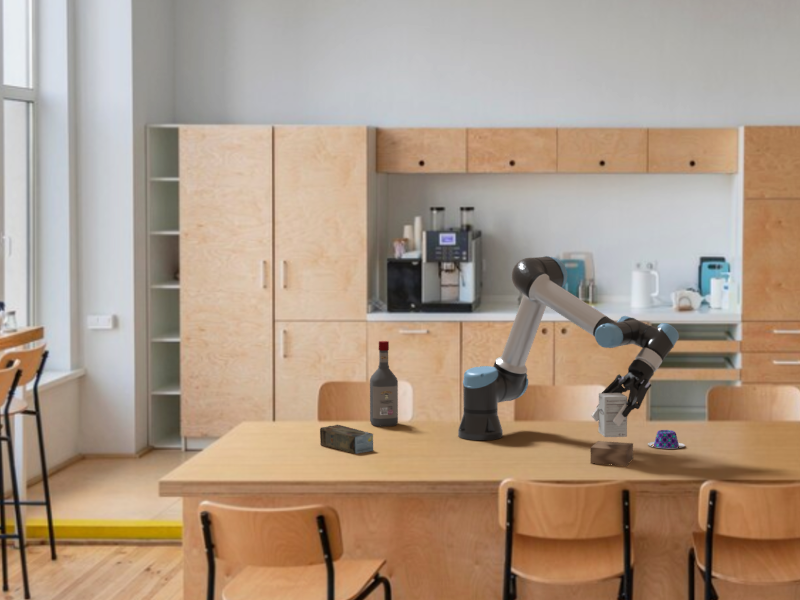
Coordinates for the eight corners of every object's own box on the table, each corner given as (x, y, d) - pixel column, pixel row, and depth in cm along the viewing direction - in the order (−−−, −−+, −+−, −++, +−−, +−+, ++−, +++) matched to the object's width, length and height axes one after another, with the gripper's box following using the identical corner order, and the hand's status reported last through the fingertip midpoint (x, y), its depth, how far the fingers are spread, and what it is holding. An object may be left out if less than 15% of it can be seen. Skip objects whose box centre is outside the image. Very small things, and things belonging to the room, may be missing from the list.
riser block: (590, 463, 377) (590, 447, 377) (597, 456, 388) (598, 440, 387) (626, 466, 373) (626, 450, 373) (632, 459, 384) (633, 443, 383)
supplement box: (597, 433, 383) (598, 392, 382) (621, 432, 384) (621, 392, 383) (603, 437, 376) (604, 396, 375) (627, 437, 376) (627, 396, 375)
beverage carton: (354, 454, 392) (354, 434, 391) (318, 445, 406) (318, 426, 406) (374, 451, 397) (374, 431, 396) (337, 442, 412) (337, 423, 411)
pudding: (669, 452, 396) (669, 436, 395) (640, 446, 405) (640, 430, 404) (692, 447, 403) (692, 431, 403) (662, 441, 412) (663, 426, 412)
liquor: (398, 425, 440) (398, 342, 438) (373, 427, 438) (373, 343, 436) (393, 421, 449) (393, 339, 447) (369, 422, 447) (368, 340, 445)
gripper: (675, 378, 377) (635, 434, 370) (627, 369, 396) (588, 423, 389) (662, 362, 374) (622, 418, 367) (614, 354, 392) (575, 408, 386)
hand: (604, 420), depth 378 cm, fingers closed on supplement box, 9 cm apart
